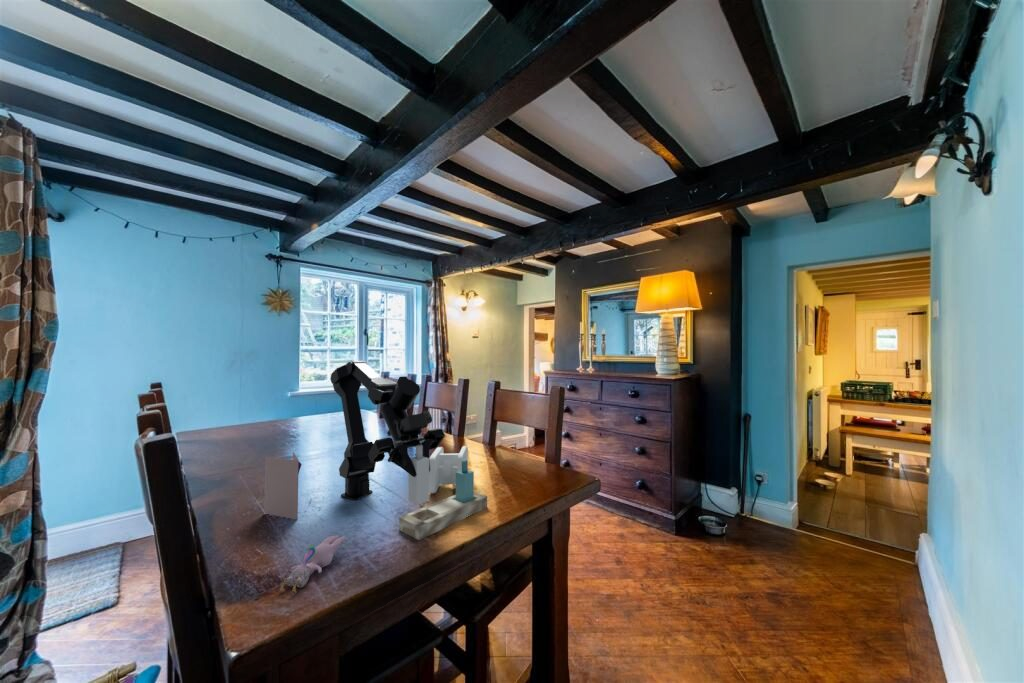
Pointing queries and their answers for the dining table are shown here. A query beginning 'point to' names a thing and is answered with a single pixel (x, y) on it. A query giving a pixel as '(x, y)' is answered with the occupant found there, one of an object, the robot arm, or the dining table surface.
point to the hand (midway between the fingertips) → (422, 473)
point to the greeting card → (281, 487)
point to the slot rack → (439, 515)
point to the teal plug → (464, 484)
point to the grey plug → (419, 478)
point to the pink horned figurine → (313, 562)
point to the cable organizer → (445, 467)
